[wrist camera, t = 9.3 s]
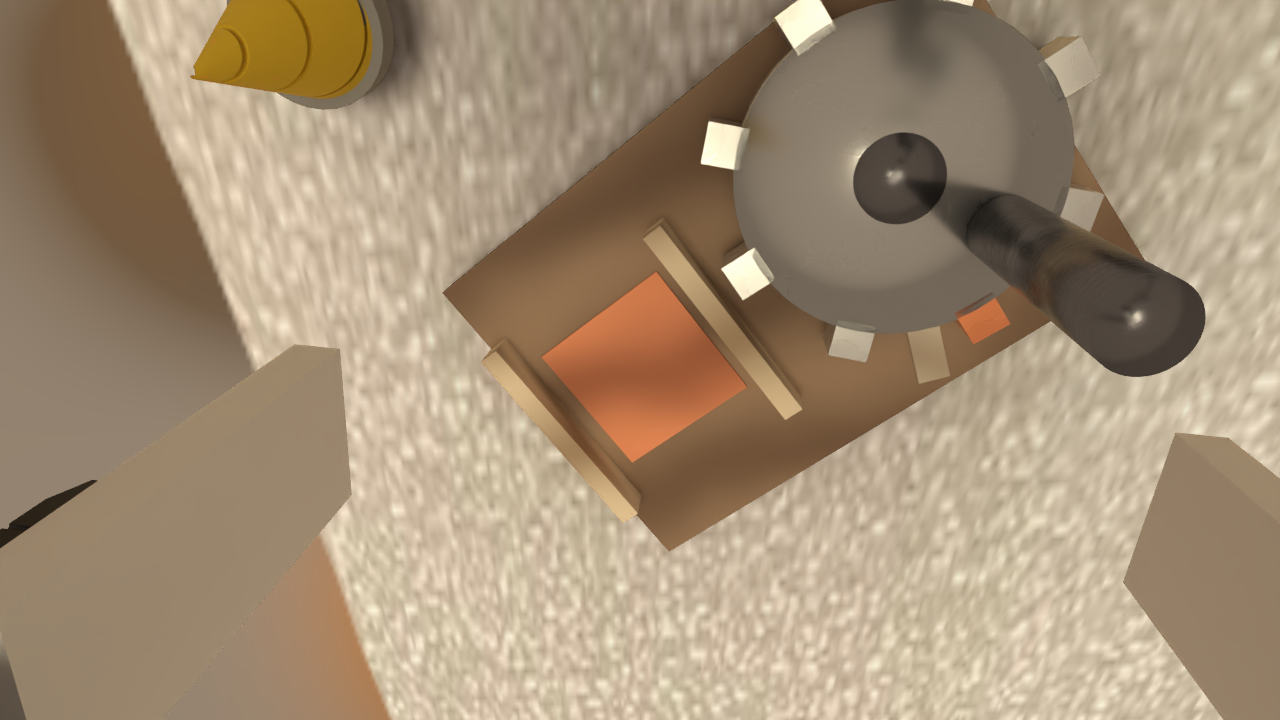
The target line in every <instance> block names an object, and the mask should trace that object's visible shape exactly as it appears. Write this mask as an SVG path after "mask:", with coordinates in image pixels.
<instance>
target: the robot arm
mask: <svg viewBox="0 0 1280 720" xmlns="http://www.w3.org/2000/svg"><path fill="white" fill-rule="evenodd" d="M351 495H352V494H351V481H350V469H349V456H348V444H347V432H346V419H345V407H344V395H343V382H342V370H341V358H340V349H335V348H325V347H315V346H305V345H293V346H292V347H290V348H289V349H288V350H286V351H285V352H283V353H282V354H280V355H279V356H277V357H276V358H275V359H273V360H272V361H270V362H269V363H267V364H266V365H264V366H263V367H262V368H260V369H259V370H257V371H256V372H254V373H253V374H251V375H250V376H249V377H247V378H246V379H244V380H243V381H241V382H240V383H239V384H237V385H236V386H234V387H233V388H231V389H230V390H228V391H227V392H225V393H224V394H223V395H221V396H220V397H218V398H217V399H215V400H214V401H212V402H211V403H210V404H208V405H207V406H205V407H204V408H202V409H201V410H199V411H198V412H197V413H195V414H194V415H192V416H191V417H189V418H188V419H186V420H185V421H184V422H182V423H181V424H179V425H178V426H176V427H175V428H174V429H172V430H171V431H169V432H168V433H166V434H165V435H163V436H162V437H161V438H159V439H158V440H156V441H155V442H153V443H152V444H151V445H149V446H147V447H146V448H145V449H143V450H142V451H140V452H139V453H137V454H136V455H134V456H133V457H132V458H130V459H129V460H127V461H126V462H124V463H123V464H121V465H120V466H119V467H117V468H116V469H114V470H113V471H112V472H110V473H108V474H107V475H106V476H104V477H103V478H101V479H100V480H98V481H97V480H91V481H89V482H86V483H84V484H81V485H79V486H77V487H74V488H72V489H70V490H67V491H64V492H62V493H60V494H57V495H55V496H52V497H50V498H48V499H45V500H44V501H42V502H41V503H39V504H38V505H37V506H35V507H33V508H32V509H30V510H29V511H27V512H26V513H24V514H23V515H21V516H20V517H18V518H17V519H16V520H14V521H12V522H11V523H10V524H9V528H8V529H1V530H0V720H163V719H164V718H165V717H166V716H167V714H168V713H169V712H170V711H171V710H172V708H173V707H174V706H175V705H176V704H177V702H178V701H179V700H180V699H181V698H182V696H183V695H184V694H185V693H186V692H187V690H188V689H189V688H190V687H191V686H192V684H193V683H194V682H195V681H196V680H197V679H198V677H199V676H200V675H201V674H202V673H203V671H204V670H205V669H206V668H207V667H208V665H209V664H210V663H211V662H212V661H213V659H214V658H215V657H216V655H218V653H219V652H220V651H221V650H222V649H223V647H224V646H225V645H226V644H227V643H228V641H229V640H230V639H231V638H232V637H233V636H234V634H235V633H236V632H237V631H238V630H239V628H240V627H241V626H242V625H243V624H244V622H245V621H246V620H247V619H248V618H249V616H250V615H251V614H252V613H253V612H254V610H255V609H256V608H257V607H258V606H259V605H260V603H261V602H262V601H263V600H264V599H265V597H266V596H267V595H268V594H269V593H270V591H271V590H272V589H273V588H274V587H275V585H276V584H277V583H278V582H279V581H280V579H281V578H282V577H283V576H284V575H285V574H286V572H287V571H288V570H289V568H290V567H291V566H292V565H293V564H294V563H295V562H296V560H297V559H298V558H299V557H300V556H301V554H302V553H303V552H304V551H305V550H306V548H307V547H308V546H309V544H311V542H312V541H313V540H314V539H315V538H316V537H317V535H318V534H319V533H320V532H321V531H322V529H323V528H324V527H325V526H326V525H327V523H328V522H329V521H330V520H331V519H332V517H333V516H334V515H335V514H336V513H337V511H338V510H339V509H340V508H341V507H342V505H343V504H344V503H345V502H346V501H347V499H348V498H349V497H350V496H351ZM1123 583H1124V584H1125V585H1126V587H1127V588H1128V590H1129V591H1130V592H1131V594H1132V595H1133V596H1134V598H1135V599H1136V600H1137V602H1138V603H1139V605H1140V606H1141V607H1142V609H1143V610H1144V611H1145V613H1146V614H1147V616H1148V617H1149V618H1150V620H1151V621H1152V622H1153V624H1154V625H1155V627H1156V628H1157V629H1158V631H1159V632H1160V633H1161V635H1162V636H1163V637H1164V639H1165V640H1166V642H1167V643H1168V644H1169V646H1170V647H1171V648H1172V650H1173V651H1174V653H1175V654H1176V655H1177V657H1178V658H1179V659H1180V661H1181V662H1182V663H1183V665H1184V666H1185V668H1186V669H1187V670H1188V672H1189V673H1190V674H1191V676H1192V677H1193V679H1194V680H1195V681H1196V683H1197V684H1198V685H1199V687H1200V688H1201V690H1202V691H1203V692H1204V694H1205V695H1206V696H1207V698H1208V699H1209V700H1210V702H1211V703H1212V705H1213V706H1214V707H1215V709H1216V710H1217V711H1218V713H1219V714H1220V716H1221V717H1222V718H1223V720H1280V478H1278V477H1277V476H1276V475H1275V474H1273V473H1272V472H1271V471H1270V470H1268V469H1267V468H1266V467H1264V466H1263V465H1262V464H1261V463H1259V462H1258V461H1257V460H1256V459H1254V458H1253V457H1252V456H1251V455H1249V454H1248V453H1247V452H1246V451H1244V450H1243V449H1242V448H1240V447H1239V446H1238V445H1237V444H1235V443H1234V442H1233V441H1232V440H1230V439H1229V438H1224V437H1214V436H1204V435H1194V434H1184V433H1175V436H1174V439H1173V441H1172V444H1171V447H1170V450H1169V453H1168V456H1167V459H1166V461H1165V464H1164V467H1163V470H1162V473H1161V476H1160V479H1159V481H1158V484H1157V487H1156V490H1155V493H1154V496H1153V499H1152V501H1151V504H1150V507H1149V510H1148V513H1147V516H1146V519H1145V521H1144V524H1143V527H1142V530H1141V533H1140V536H1139V539H1138V541H1137V544H1136V547H1135V550H1134V553H1133V556H1132V559H1131V561H1130V564H1129V567H1128V570H1127V573H1126V576H1125V579H1124V581H1123Z"/></svg>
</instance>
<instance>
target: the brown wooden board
mask: <svg viewBox="0 0 1280 720" xmlns="http://www.w3.org/2000/svg"><path fill="white" fill-rule="evenodd" d="M820 1H821V2H822V4H823V6H824V8H825V9H826V11H827V13H828V14H829V16H830V18H831V19H832V20H833V19H835V18H837V17H839V16H842V15H844V14H846V13H848V12H852V11H855V10H858V9H861V8H864V7H867V6H871V5H874V4H878V3H884V2H889V1H895V0H820ZM972 6H973V7H975V8H977V9H980V10H982V11H985V12H987V13H989V14H992V15H994V16H995V14H994V12H993V11H992V9H991V7H990V6H989V4H988V3H987V1H986V0H974V2H973V5H972ZM789 49H790V48H789V46H788V44H787V43H786V41H785V39H784V38H783V36H782V34H781V33H780V31H779V30H778V28H777V26H776V25H775V23H774V22H773V23H772V24H771V25H769V26H768V27H767V28H766V29H764V30H763V31H762V32H761V33H760V34H758V35H757V36H756V37H755V38H753V39H752V40H751V41H750V42H749V43H747V44H746V45H745V46H744V47H742V48H741V49H740V50H739V51H738V52H736V53H735V54H734V55H733V56H731V57H730V58H729V59H728V60H726V61H725V62H724V63H723V64H722V65H720V66H719V67H718V68H717V69H715V70H714V71H713V72H712V73H711V74H709V75H708V76H707V77H706V78H704V79H703V80H702V81H701V82H700V83H698V84H697V85H696V86H695V87H693V88H692V89H691V90H690V91H689V92H687V93H686V94H685V95H684V96H682V97H681V98H680V99H679V100H678V101H676V102H675V103H674V104H673V105H671V106H670V107H669V108H668V109H666V110H665V111H664V112H663V113H662V114H660V115H659V116H658V117H657V118H655V119H654V120H653V121H652V122H651V123H649V124H648V125H647V126H646V127H644V128H643V129H642V130H641V131H640V132H638V133H637V134H636V135H635V136H633V137H632V138H631V139H630V140H629V141H627V142H626V143H625V144H624V145H622V146H621V147H620V148H619V149H617V150H616V151H615V152H614V153H613V154H611V155H610V156H609V157H608V158H606V159H605V160H604V161H603V162H602V163H600V164H599V165H598V166H597V167H595V168H594V169H593V170H592V171H591V172H589V173H588V174H587V175H586V176H584V177H583V178H582V179H581V180H580V181H578V182H577V183H576V184H575V185H573V186H572V187H571V188H570V189H569V190H567V191H566V192H565V193H564V194H562V195H561V196H560V197H559V198H557V199H556V200H555V201H554V202H553V203H551V204H550V205H549V206H548V207H546V208H545V209H544V210H543V211H542V212H540V213H539V214H538V215H537V216H535V217H534V218H533V219H532V220H531V221H529V222H528V223H527V224H526V225H524V226H523V227H522V228H521V229H520V230H518V231H517V232H516V233H515V234H513V235H512V236H511V237H510V238H509V239H507V240H506V241H505V242H504V243H502V244H501V245H500V246H499V247H497V248H496V249H495V250H494V251H493V252H491V253H490V254H489V255H488V256H486V257H485V258H484V259H483V260H482V261H480V262H479V263H478V264H477V265H475V266H474V267H473V268H472V269H471V270H469V271H468V272H467V273H466V274H464V275H463V276H462V277H461V278H460V279H458V280H457V281H456V282H455V283H453V284H452V285H451V286H450V287H449V288H447V289H446V290H445V291H444V292H443V294H444V295H445V296H446V297H447V299H448V300H449V301H450V302H451V303H452V304H453V305H454V307H455V308H456V309H457V310H458V311H459V312H460V313H461V315H462V316H463V317H464V318H465V319H466V320H467V321H468V323H469V324H470V325H471V326H472V327H473V328H474V329H475V331H476V332H477V333H478V334H479V335H480V336H481V337H482V339H483V340H484V341H485V342H486V343H487V344H488V345H489V347H490V348H491V350H490V351H489V353H488V354H487V355H486V357H485V358H484V359H483V360H482V362H481V363H482V364H483V365H484V366H485V367H486V368H487V369H488V371H489V372H490V373H491V374H492V375H493V376H494V377H495V378H496V380H497V381H498V382H499V383H500V384H501V385H502V386H503V388H504V389H505V390H506V391H507V392H508V393H509V394H510V395H511V397H512V398H513V399H514V400H515V401H516V402H517V403H518V404H519V406H520V407H521V408H522V409H523V410H524V411H525V412H526V414H527V415H528V416H529V417H530V418H531V419H532V420H533V421H534V423H535V424H536V425H537V426H538V427H539V428H540V429H541V431H542V432H543V433H544V434H545V435H546V436H547V437H548V438H549V440H550V441H551V442H552V443H553V444H554V445H555V446H556V447H557V449H558V450H559V451H560V452H561V453H562V454H563V455H564V457H565V458H566V459H567V460H568V461H569V462H570V463H571V464H572V466H573V467H574V468H575V469H576V470H577V471H578V472H579V473H580V475H581V476H582V477H583V478H584V479H585V480H586V481H587V483H588V484H589V485H590V486H591V487H592V488H593V489H594V490H595V492H596V493H597V494H598V495H599V496H600V497H601V498H602V500H603V501H604V502H605V503H606V504H607V505H608V506H609V507H610V509H611V510H612V511H613V512H614V513H615V514H616V515H617V516H618V518H619V519H620V520H621V521H622V522H625V521H627V520H628V519H630V518H631V517H633V516H635V515H636V514H637V516H638V517H639V518H640V519H641V520H642V521H643V522H644V524H645V525H646V526H647V527H648V528H649V529H650V530H651V532H652V533H653V534H654V535H655V536H656V537H657V538H658V540H659V541H660V542H661V543H662V544H663V545H664V546H665V548H666V549H667V550H668V551H671V550H672V549H674V548H676V547H677V546H679V545H681V544H682V543H684V542H686V541H687V540H689V539H691V538H692V537H694V536H696V535H697V534H699V533H701V532H702V531H704V530H706V529H707V528H709V527H711V526H712V525H714V524H716V523H717V522H719V521H720V520H722V519H724V518H725V517H727V516H729V515H730V514H732V513H734V512H735V511H737V510H739V509H740V508H742V507H744V506H745V505H747V504H749V503H750V502H752V501H754V500H755V499H757V498H759V497H760V496H762V495H764V494H765V493H767V492H768V491H770V490H772V489H773V488H775V487H777V486H778V485H780V484H782V483H783V482H785V481H787V480H788V479H790V478H792V477H793V476H795V475H797V474H798V473H800V472H802V471H803V470H805V469H807V468H808V467H810V466H811V465H813V464H815V463H816V462H818V461H820V460H821V459H823V458H825V457H826V456H828V455H830V454H831V453H833V452H835V451H836V450H838V449H840V448H841V447H843V446H845V445H846V444H848V443H850V442H851V441H853V440H855V439H856V438H858V437H859V436H861V435H863V434H864V433H866V432H868V431H869V430H871V429H873V428H874V427H876V426H878V425H879V424H881V423H883V422H884V421H886V420H888V419H889V418H891V417H893V416H894V415H896V414H898V413H899V412H901V411H902V410H904V409H906V408H907V407H909V406H911V405H912V404H914V403H916V402H917V401H919V400H921V399H922V398H924V397H926V396H927V395H929V394H931V393H932V392H934V391H936V390H937V389H939V388H941V387H942V386H944V385H946V384H947V383H949V382H950V381H952V380H954V379H955V378H957V377H959V376H960V375H962V374H964V373H965V372H967V371H969V370H970V369H972V368H974V367H975V366H977V365H979V364H980V363H982V362H984V361H985V360H987V359H989V358H990V357H992V356H994V355H995V354H997V353H998V352H1000V351H1002V350H1003V349H1005V348H1007V347H1008V346H1010V345H1012V344H1013V343H1015V342H1017V341H1018V340H1020V339H1022V338H1023V337H1025V336H1027V335H1028V334H1030V333H1032V332H1033V331H1035V330H1037V329H1038V328H1040V327H1041V326H1043V325H1045V324H1046V323H1048V322H1050V321H1051V320H1049V319H1048V318H1047V317H1046V316H1045V315H1044V314H1042V313H1041V312H1040V311H1039V310H1038V309H1037V308H1035V307H1034V306H1033V305H1032V304H1031V303H1030V302H1028V301H1027V300H1026V299H1025V298H1024V297H1023V296H1021V295H1020V294H1019V293H1018V292H1017V291H1016V290H1014V289H1013V288H1012V287H1011V286H1009V287H1008V288H1007V289H1006V290H1004V291H1003V292H1002V293H1001V294H1000V295H998V296H997V297H996V300H997V302H998V303H999V305H1000V307H1001V308H1002V310H1003V312H1004V314H1005V315H1006V317H1007V319H1008V320H1009V322H1010V325H1008V326H1006V327H1004V328H1002V329H1000V330H999V331H997V332H995V333H993V334H991V335H990V336H988V337H986V338H984V339H982V340H981V341H979V342H977V343H975V344H973V343H972V342H971V341H970V339H969V338H968V337H967V336H966V335H965V333H964V332H963V331H962V330H961V328H960V327H959V325H958V324H957V322H956V320H954V321H951V322H948V323H946V324H943V325H940V326H937V327H933V328H929V329H924V330H920V331H915V332H906V333H897V334H874V338H873V341H872V345H871V348H870V351H869V355H868V358H867V361H866V362H861V361H856V360H851V359H846V358H841V357H835V356H830V355H828V353H827V350H826V347H825V343H824V340H823V336H824V332H825V329H826V325H827V322H825V321H822V320H820V319H817V318H815V317H814V316H812V315H810V314H808V313H806V312H805V311H803V310H801V309H799V308H798V307H797V306H795V305H794V304H793V303H791V302H790V301H789V300H787V299H786V298H785V297H784V296H783V295H782V294H781V293H780V292H779V291H778V290H777V289H776V288H775V287H773V286H772V285H771V284H768V285H767V286H765V287H763V288H762V289H760V290H759V291H757V292H755V293H754V294H752V295H751V296H749V297H747V298H746V299H744V300H742V298H741V297H740V295H739V294H738V292H737V291H736V289H735V288H734V287H733V285H732V284H731V282H730V281H729V279H728V278H727V276H726V275H725V273H724V272H723V270H722V269H721V267H722V256H723V255H725V254H726V253H728V252H730V251H731V250H733V249H734V248H736V247H737V246H739V245H740V244H742V243H743V242H745V241H744V238H743V236H742V233H741V230H740V227H739V223H738V219H737V215H736V209H735V201H734V193H733V169H727V168H722V167H716V166H711V165H706V164H701V159H702V154H703V148H704V143H705V138H706V133H707V128H708V122H709V118H710V117H713V118H719V119H724V120H730V121H735V122H740V123H742V121H743V118H744V116H745V113H746V111H747V109H748V106H749V104H750V102H751V100H752V98H753V96H754V94H755V93H756V91H757V89H758V87H759V86H760V84H761V82H762V81H763V80H764V78H765V77H766V76H767V74H768V73H769V72H770V70H771V69H772V68H773V66H774V65H775V64H776V63H777V62H778V61H779V60H780V59H781V58H782V57H783V56H784V55H785V53H786V52H787V51H788V50H789ZM1071 183H1072V184H1078V185H1083V186H1085V187H1088V188H1090V189H1093V190H1095V191H1098V192H1100V193H1103V191H1102V189H1101V188H1100V186H1099V184H1098V183H1097V181H1096V180H1095V178H1094V176H1093V175H1092V173H1091V171H1090V170H1089V168H1088V166H1087V165H1086V163H1085V161H1084V160H1083V158H1082V157H1081V155H1080V153H1079V152H1078V150H1077V148H1076V147H1075V145H1074V165H1073V171H1072V177H1071ZM1103 194H1104V193H1103ZM1090 232H1091V233H1093V234H1095V235H1097V236H1099V237H1101V238H1103V239H1105V240H1107V241H1108V242H1110V243H1112V244H1114V245H1116V246H1118V247H1120V248H1122V249H1124V250H1126V251H1128V252H1130V253H1131V254H1133V255H1135V256H1137V257H1139V258H1141V259H1143V260H1144V258H1143V257H1142V255H1141V253H1140V252H1139V250H1138V248H1137V247H1136V245H1135V243H1134V242H1133V240H1132V239H1131V237H1130V235H1129V234H1128V232H1127V230H1126V229H1125V227H1124V225H1123V224H1122V222H1121V220H1120V219H1119V217H1118V216H1117V214H1116V212H1115V211H1114V209H1113V207H1112V206H1111V204H1110V202H1109V201H1108V199H1107V198H1106V196H1105V194H1104V197H1103V200H1102V202H1101V205H1100V207H1099V210H1098V213H1097V215H1096V218H1095V220H1094V223H1093V225H1092V228H1091V231H1090Z"/></svg>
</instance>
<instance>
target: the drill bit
mask: <svg viewBox="0 0 1280 720" xmlns="http://www.w3.org/2000/svg"><path fill="white" fill-rule="evenodd" d="M393 50H394V28H393V21H392V17H391V13H390V10H389V6H388V4H387V2H386V0H227V7H226V9H225V11H224V13H223V15H222V16H221V18H220V20H219V22H218V24H217V25H216V27H215V29H214V31H213V33H212V34H211V36H210V38H209V40H208V41H207V43H206V45H205V47H204V49H203V50H202V52H201V54H200V56H199V57H198V59H197V61H196V63H195V65H194V66H193V67H194V68H195V76H193V75H192V76H191V78H192V79H196V80H202V81H208V82H215V83H221V84H227V85H233V86H240V87H246V88H252V89H259V90H265V91H271V92H277V93H278V94H280V95H281V96H283V97H285V98H287V99H289V100H290V101H292V102H294V103H297V104H300V105H303V106H306V107H309V108H316V109H323V110H324V109H337V108H340V107H344V106H347V105H350V104H352V103H353V102H355V101H356V100H358V99H360V98H361V97H363V96H364V95H366V94H368V93H369V92H371V91H372V90H373V89H374V88H375V87H376V86H377V85H378V84H379V83H380V82H381V81H382V80H383V78H384V76H385V74H386V73H387V71H388V69H389V66H390V63H391V60H392V57H393Z"/></svg>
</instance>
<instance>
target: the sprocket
mask: <svg viewBox="0 0 1280 720" xmlns="http://www.w3.org/2000/svg"><path fill="white" fill-rule="evenodd" d="M973 2H974V0H895V1H889V2H884V3H878V4H874V5H871V6H867V7H864V8H861V9H858V10H855V11H852V12H848V13H846V14H844V15H842V16H839V17H837V18H835V19H833V20H832V19H831V18H830V16H829V14H828V13H827V11H826V9H825V8H824V6H823V4H822V2H821V1H820V0H797V1H796V2H794V3H793V4H792V5H790V6H789V7H788V8H786V9H785V10H784V11H782V12H781V13H780V14H778V15H777V16H775V17H774V18H773V19H772V20H773V21H774V23H775V25H776V26H777V28H778V30H779V31H780V33H781V34H782V36H783V38H784V39H785V41H786V43H787V44H788V46H789V48H790V49H789V50H788V51H787V52H786V53H785V55H784V56H783V57H782V58H781V59H780V60H779V61H778V62H777V63H776V64H775V65H774V66H773V68H772V69H771V70H770V72H769V73H768V74H767V76H766V77H765V78H764V80H763V81H762V82H761V84H760V86H759V87H758V89H757V91H756V93H755V94H754V96H753V98H752V100H751V102H750V104H749V106H748V109H747V111H746V113H745V116H744V118H743V121H742V123H740V122H735V121H730V120H724V119H719V118H713V117H710V118H709V122H708V128H707V133H706V138H705V143H704V148H703V154H702V159H701V164H706V165H711V166H716V167H722V168H727V169H733V193H734V201H735V209H736V215H737V219H738V223H739V227H740V230H741V233H742V236H743V238H744V241H745V242H743V243H742V244H740V245H739V246H737V247H736V248H734V249H733V250H731V251H730V252H728V253H726V254H725V255H723V256H722V267H721V269H722V270H723V272H724V273H725V275H726V276H727V278H728V279H729V281H730V282H731V284H732V285H733V287H734V288H735V289H736V291H737V292H738V294H739V295H740V297H741V298H742V300H744V299H746V298H747V297H749V296H751V295H752V294H754V293H755V292H757V291H759V290H760V289H762V288H763V287H765V286H767V285H768V284H771V285H772V286H773V287H775V288H776V289H777V290H778V291H779V292H780V293H781V294H782V295H783V296H784V297H785V298H786V299H787V300H789V301H790V302H791V303H793V304H794V305H795V306H797V307H798V308H799V309H801V310H803V311H805V312H806V313H808V314H810V315H812V316H814V317H815V318H817V319H820V320H822V321H825V322H827V325H826V329H825V332H824V336H823V340H824V343H825V347H826V350H827V353H828V355H830V356H835V357H841V358H846V359H851V360H856V361H861V362H866V361H867V358H868V355H869V351H870V348H871V345H872V341H873V338H874V334H897V333H906V332H915V331H920V330H924V329H929V328H933V327H937V326H940V325H943V324H946V323H948V322H951V321H954V320H956V322H957V324H958V325H959V327H960V328H961V330H962V331H963V332H964V333H965V335H966V336H967V337H968V338H969V339H970V341H971V342H972V343H973V344H975V343H977V342H979V341H981V340H982V339H984V338H986V337H988V336H990V335H991V334H993V333H995V332H997V331H999V330H1000V329H1002V328H1004V327H1006V326H1008V325H1010V322H1009V320H1008V319H1007V317H1006V315H1005V314H1004V312H1003V310H1002V308H1001V307H1000V305H999V303H998V302H997V300H996V297H997V296H998V295H1000V294H1001V293H1002V292H1003V291H1004V290H1006V289H1007V288H1008V287H1009V286H1011V287H1012V288H1013V289H1014V290H1016V291H1017V292H1018V293H1019V294H1020V295H1021V296H1023V297H1024V298H1025V299H1026V300H1027V301H1028V302H1030V303H1031V304H1032V305H1033V306H1034V307H1035V308H1037V309H1038V310H1039V311H1040V312H1041V313H1042V314H1044V315H1045V316H1046V317H1047V318H1048V319H1049V320H1051V321H1052V322H1053V323H1054V324H1055V325H1056V326H1057V327H1059V328H1060V329H1061V330H1062V331H1063V332H1064V333H1066V334H1067V335H1068V336H1069V337H1070V338H1071V339H1073V340H1074V341H1075V342H1076V343H1077V344H1078V345H1080V346H1081V347H1082V348H1083V349H1084V350H1085V351H1087V352H1088V353H1089V354H1090V355H1091V356H1092V357H1094V358H1095V359H1096V360H1097V361H1098V362H1099V363H1100V364H1102V365H1103V366H1104V367H1105V368H1107V369H1109V370H1110V371H1112V372H1115V373H1117V374H1120V375H1124V376H1131V377H1142V376H1150V375H1154V374H1157V373H1160V372H1163V371H1165V370H1168V369H1170V368H1171V367H1173V366H1175V365H1176V364H1178V363H1179V362H1181V361H1182V360H1183V359H1184V358H1185V357H1186V356H1188V355H1189V353H1190V352H1191V351H1192V350H1193V349H1194V347H1195V346H1196V345H1197V343H1198V341H1199V339H1200V337H1201V335H1202V332H1203V329H1204V325H1205V308H1204V304H1203V302H1202V299H1201V297H1200V296H1199V294H1198V292H1197V291H1196V290H1195V289H1194V288H1193V287H1192V286H1191V285H1189V284H1188V283H1187V282H1185V281H1183V280H1181V279H1179V278H1178V277H1176V276H1174V275H1172V274H1170V273H1168V272H1166V271H1164V270H1162V269H1160V268H1158V267H1156V266H1154V265H1153V264H1151V263H1149V262H1147V261H1145V260H1143V259H1141V258H1139V257H1137V256H1135V255H1133V254H1131V253H1130V252H1128V251H1126V250H1124V249H1122V248H1120V247H1118V246H1116V245H1114V244H1112V243H1110V242H1108V241H1107V240H1105V239H1103V238H1101V237H1099V236H1097V235H1095V234H1093V233H1091V232H1090V231H1091V228H1092V225H1093V223H1094V220H1095V218H1096V215H1097V213H1098V210H1099V207H1100V205H1101V202H1102V200H1103V197H1104V194H1103V193H1100V192H1098V191H1095V190H1093V189H1090V188H1088V187H1085V186H1083V185H1078V184H1072V183H1071V177H1072V171H1073V165H1074V137H1073V128H1072V120H1071V116H1070V112H1069V108H1068V104H1067V101H1066V98H1067V97H1068V96H1070V95H1071V94H1073V93H1075V92H1076V91H1078V90H1079V89H1081V88H1082V87H1084V86H1086V85H1087V84H1089V83H1090V82H1092V81H1094V80H1095V79H1097V78H1098V77H1100V76H1101V75H1100V73H1099V71H1098V69H1097V67H1096V65H1095V63H1094V61H1093V59H1092V57H1091V55H1090V53H1089V51H1088V49H1087V47H1086V45H1085V43H1084V41H1083V39H1082V37H1081V36H1080V37H1058V38H1057V39H1055V40H1054V41H1052V42H1050V43H1049V44H1047V45H1046V46H1044V47H1043V48H1041V49H1040V50H1037V49H1036V48H1035V46H1034V45H1033V44H1032V43H1031V42H1030V41H1029V40H1028V39H1027V38H1025V37H1024V36H1023V35H1022V34H1021V33H1019V32H1018V31H1017V30H1016V29H1015V28H1014V27H1012V26H1010V25H1009V24H1007V23H1005V22H1004V21H1002V20H1001V19H999V18H997V17H996V16H994V15H992V14H989V13H987V12H985V11H982V10H980V9H977V8H975V7H973V6H972V5H973Z"/></svg>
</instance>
